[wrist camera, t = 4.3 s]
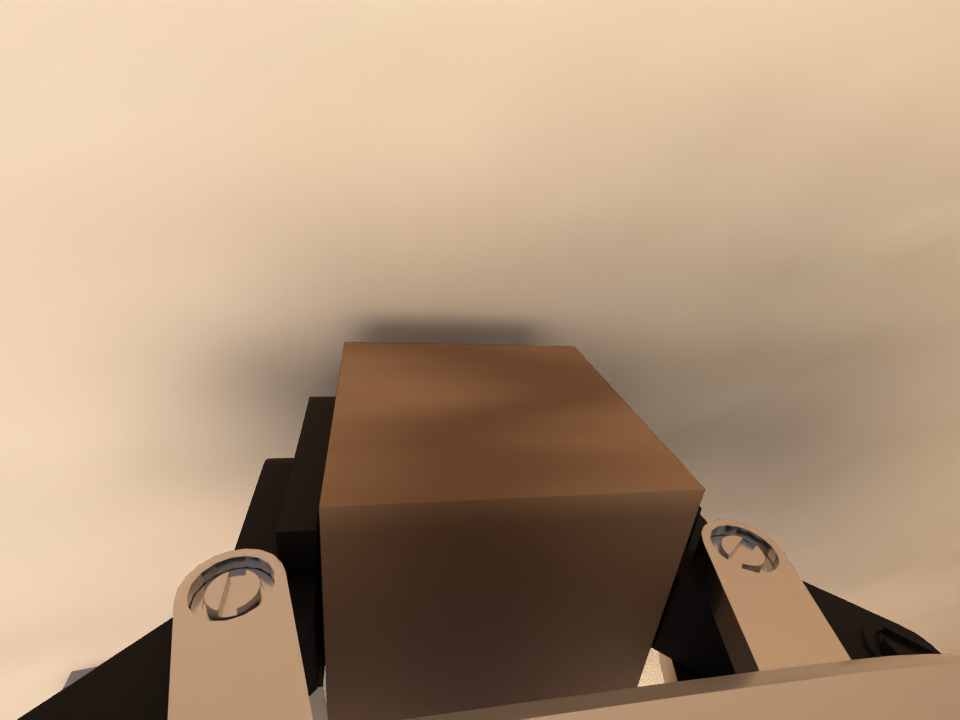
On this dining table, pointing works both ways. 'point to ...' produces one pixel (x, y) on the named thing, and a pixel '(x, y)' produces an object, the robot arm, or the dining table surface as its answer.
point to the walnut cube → (490, 530)
